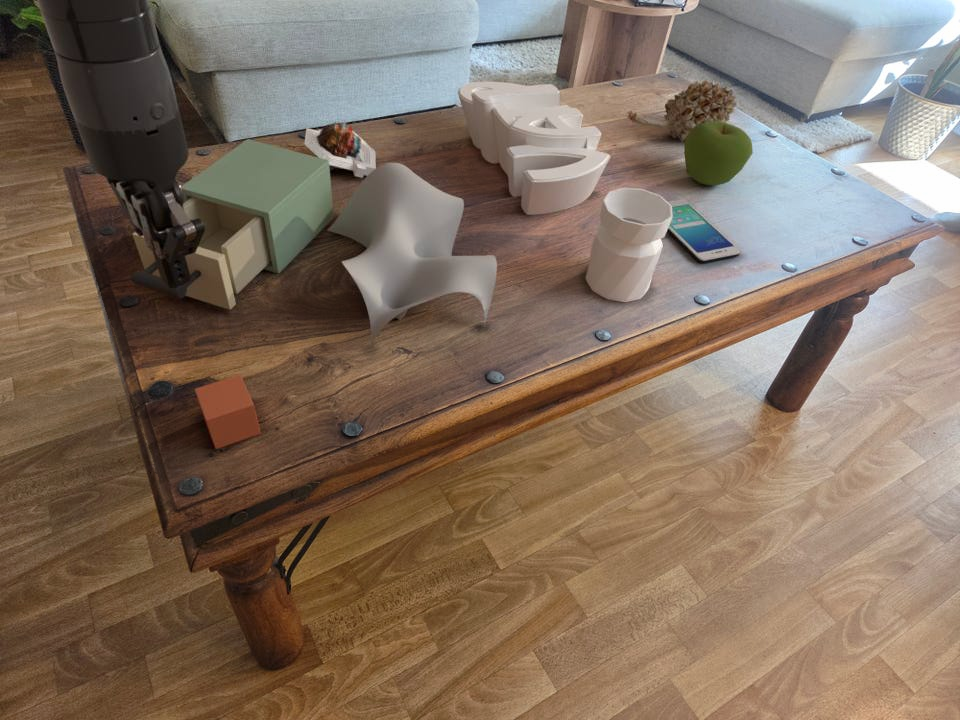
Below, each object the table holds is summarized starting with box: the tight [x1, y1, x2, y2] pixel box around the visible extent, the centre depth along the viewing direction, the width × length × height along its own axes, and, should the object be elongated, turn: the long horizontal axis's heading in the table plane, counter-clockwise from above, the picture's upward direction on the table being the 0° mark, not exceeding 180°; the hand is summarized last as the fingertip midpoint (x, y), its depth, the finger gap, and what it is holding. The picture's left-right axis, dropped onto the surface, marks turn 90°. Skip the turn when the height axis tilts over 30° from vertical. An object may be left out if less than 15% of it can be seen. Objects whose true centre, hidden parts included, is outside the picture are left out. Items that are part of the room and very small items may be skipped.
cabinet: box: [181, 138, 335, 275], centre depth 88 cm, size 15×13×9 cm
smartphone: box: [666, 199, 741, 264], centre depth 100 cm, size 7×1×15 cm
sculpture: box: [326, 162, 498, 350], centre depth 84 cm, size 25×19×10 cm
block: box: [194, 374, 261, 450], centre depth 66 cm, size 4×4×4 cm
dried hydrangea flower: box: [625, 80, 737, 142], centre depth 119 cm, size 22×10×10 cm, turn 115°
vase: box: [585, 187, 673, 303], centre depth 85 cm, size 9×9×12 cm
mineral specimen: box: [304, 121, 377, 179], centre depth 104 cm, size 12×12×7 cm
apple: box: [683, 121, 754, 187], centre depth 108 cm, size 11×10×10 cm
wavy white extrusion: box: [457, 81, 612, 216], centre depth 106 cm, size 35×16×11 cm, turn 18°
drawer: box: [131, 197, 271, 310], centre depth 80 cm, size 18×11×7 cm, turn 160°
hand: (177, 282), depth 63 cm, fingers closed
